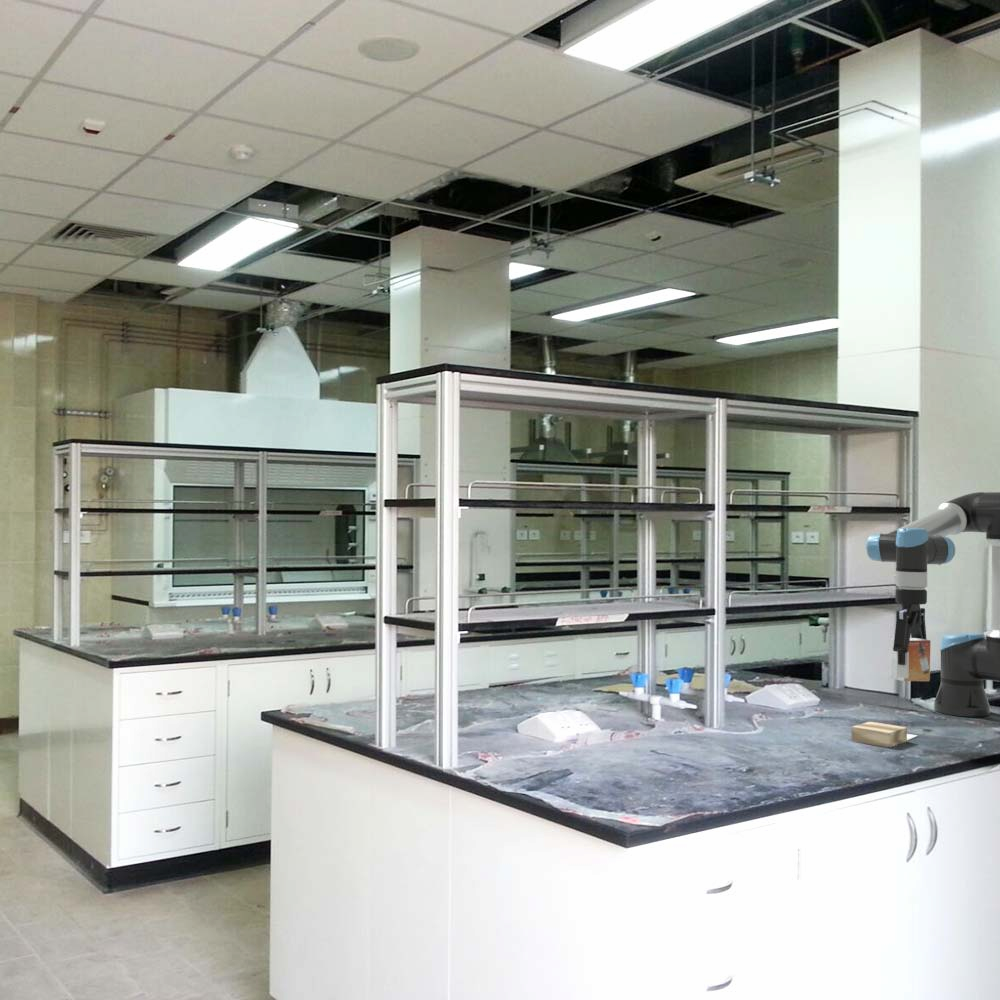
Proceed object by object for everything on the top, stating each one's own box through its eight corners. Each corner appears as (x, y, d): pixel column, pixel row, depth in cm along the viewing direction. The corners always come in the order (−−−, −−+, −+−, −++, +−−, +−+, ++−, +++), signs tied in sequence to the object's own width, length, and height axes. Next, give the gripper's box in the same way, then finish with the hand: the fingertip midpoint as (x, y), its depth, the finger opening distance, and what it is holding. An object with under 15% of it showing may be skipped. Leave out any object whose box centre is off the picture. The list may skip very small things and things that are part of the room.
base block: (869, 736, 276) (869, 721, 276) (906, 742, 269) (906, 727, 269) (851, 742, 269) (851, 726, 269) (889, 749, 262) (889, 733, 262)
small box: (904, 682, 265) (904, 640, 265) (889, 678, 270) (890, 637, 270) (930, 681, 267) (931, 639, 267) (916, 677, 272) (916, 637, 272)
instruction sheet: (880, 730, 282) (880, 729, 282) (917, 736, 275) (917, 735, 275) (869, 734, 277) (869, 733, 277) (907, 740, 270) (907, 739, 270)
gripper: (912, 585, 280) (911, 669, 279) (880, 589, 263) (878, 678, 263) (941, 587, 275) (939, 672, 274) (910, 591, 258) (909, 682, 258)
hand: (910, 675), depth 269 cm, fingers closed on small box, 9 cm apart
